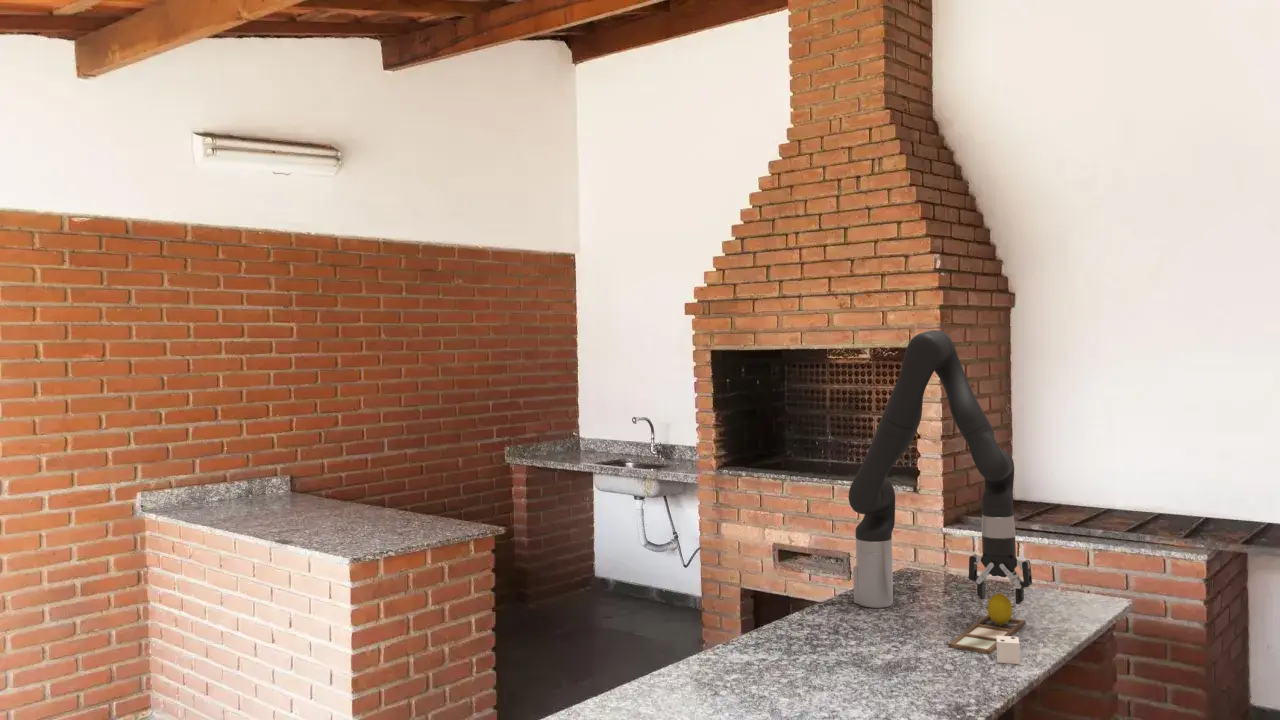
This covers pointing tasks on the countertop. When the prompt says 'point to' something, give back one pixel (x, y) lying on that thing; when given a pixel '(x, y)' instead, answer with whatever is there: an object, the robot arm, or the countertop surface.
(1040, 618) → the countertop surface
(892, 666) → the countertop surface
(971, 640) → the board
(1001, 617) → the lemon
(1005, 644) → the die
